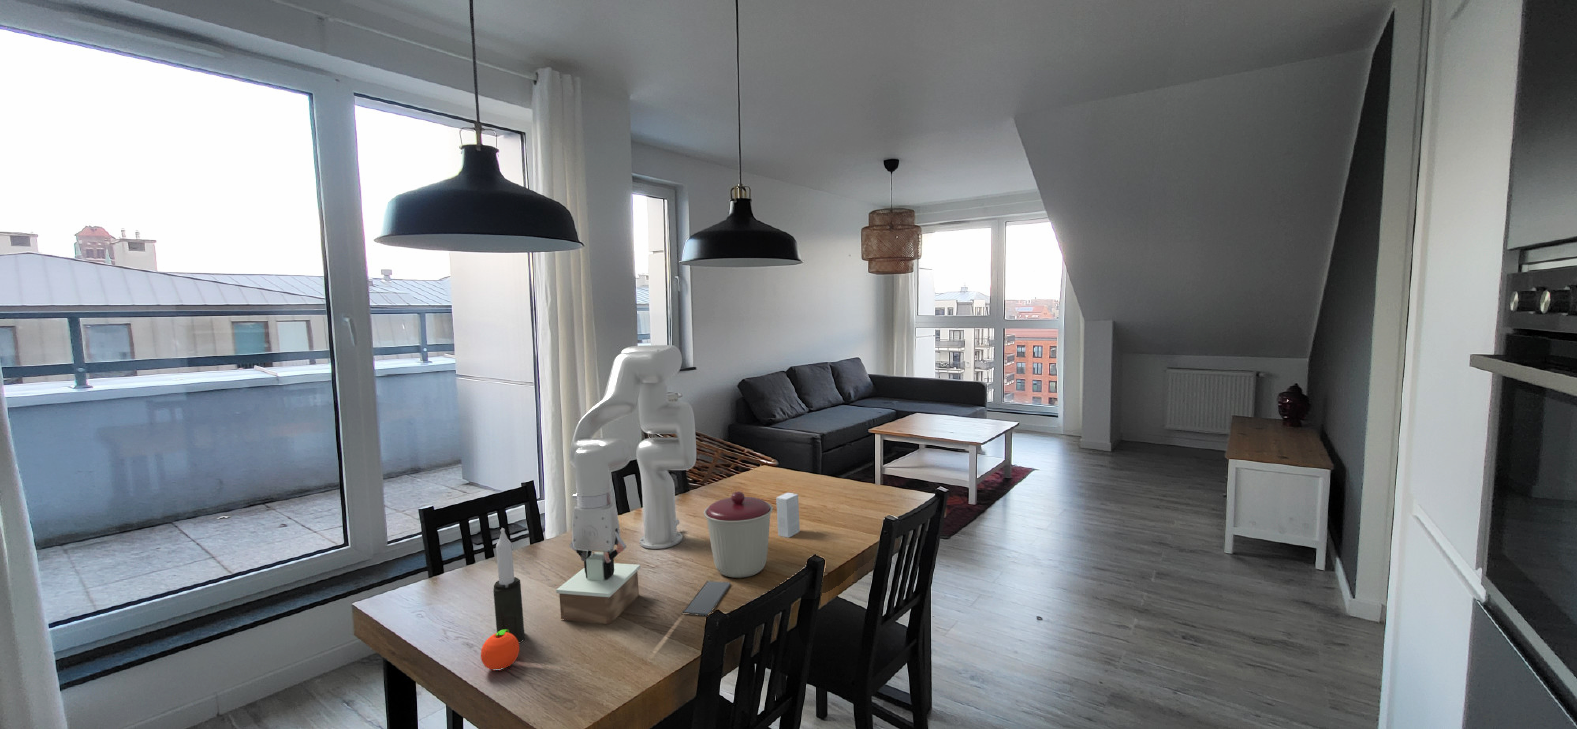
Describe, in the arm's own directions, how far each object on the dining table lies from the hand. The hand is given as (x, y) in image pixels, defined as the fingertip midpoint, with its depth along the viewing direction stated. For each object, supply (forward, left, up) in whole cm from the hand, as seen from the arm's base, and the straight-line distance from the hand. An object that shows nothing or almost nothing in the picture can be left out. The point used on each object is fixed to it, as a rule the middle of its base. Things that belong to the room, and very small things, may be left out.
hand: (599, 575), depth 142 cm
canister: (-26, +26, -8) cm, 38 cm away
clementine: (+24, -8, -8) cm, 27 cm away
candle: (+16, -12, -8) cm, 22 cm away
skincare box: (-53, +33, -8) cm, 63 cm away
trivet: (-9, +18, -8) cm, 22 cm away
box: (0, 0, -8) cm, 8 cm away
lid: (0, 0, -2) cm, 2 cm away
